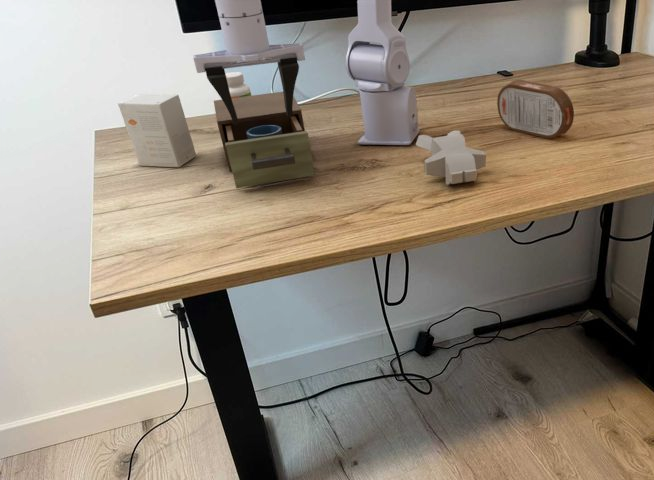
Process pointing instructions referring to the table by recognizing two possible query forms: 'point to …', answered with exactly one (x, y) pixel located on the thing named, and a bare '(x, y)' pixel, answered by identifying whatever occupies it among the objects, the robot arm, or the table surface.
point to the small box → (157, 130)
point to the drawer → (268, 152)
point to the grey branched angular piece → (452, 158)
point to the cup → (264, 131)
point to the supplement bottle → (237, 85)
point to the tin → (535, 108)
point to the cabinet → (253, 112)
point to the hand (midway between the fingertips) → (263, 118)
